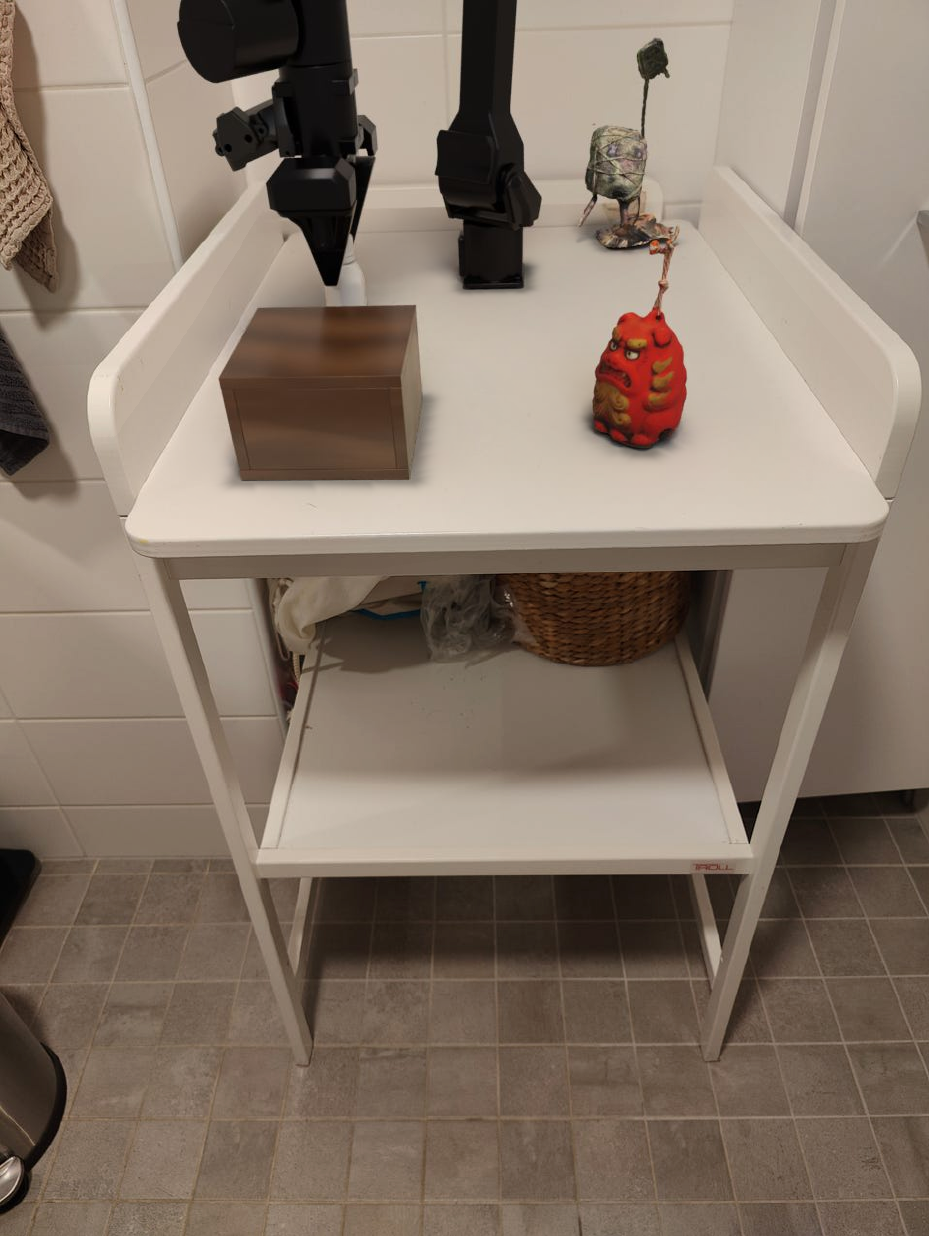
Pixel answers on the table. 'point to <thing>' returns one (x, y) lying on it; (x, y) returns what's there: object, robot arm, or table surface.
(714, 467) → the table surface
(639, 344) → the red clay folk toy
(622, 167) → the grey-green tall irregular figure
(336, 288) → the eye dropper bottle
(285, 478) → the cabinet
